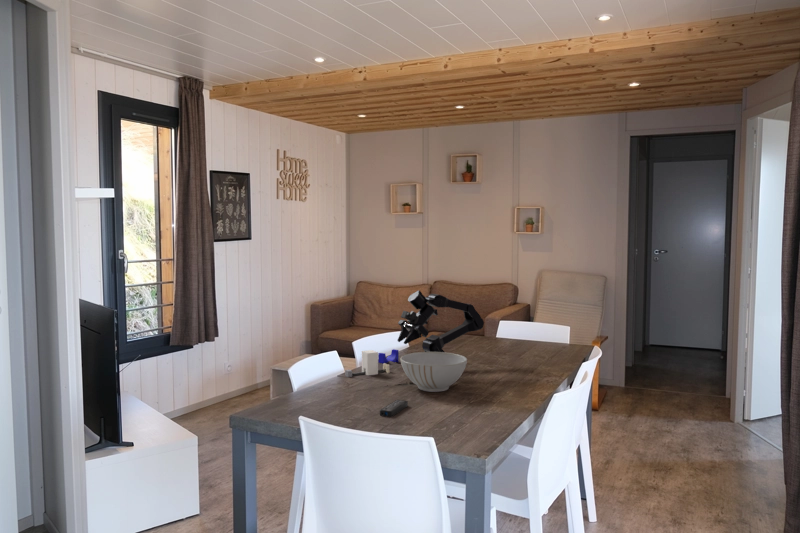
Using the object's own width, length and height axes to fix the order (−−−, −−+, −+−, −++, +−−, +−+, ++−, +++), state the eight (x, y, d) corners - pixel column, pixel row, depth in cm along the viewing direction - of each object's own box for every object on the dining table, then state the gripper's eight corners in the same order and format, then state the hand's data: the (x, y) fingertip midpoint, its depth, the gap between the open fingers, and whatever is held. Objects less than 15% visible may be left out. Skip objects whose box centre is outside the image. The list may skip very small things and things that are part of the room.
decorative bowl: (410, 399, 227) (411, 367, 227) (392, 382, 253) (392, 353, 253) (477, 394, 235) (477, 363, 234) (453, 378, 260) (453, 350, 260)
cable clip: (391, 361, 295) (391, 349, 295) (398, 362, 292) (398, 350, 292) (375, 365, 285) (375, 352, 285) (383, 366, 283) (383, 354, 282)
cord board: (382, 372, 271) (383, 361, 271) (393, 376, 262) (393, 366, 262) (341, 377, 261) (341, 366, 261) (351, 382, 253) (351, 371, 252)
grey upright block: (372, 371, 266) (372, 350, 265) (377, 374, 261) (377, 352, 261) (361, 372, 264) (361, 351, 263) (367, 375, 259) (367, 353, 258)
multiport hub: (408, 407, 218) (408, 400, 218) (391, 418, 205) (391, 411, 205) (396, 405, 220) (396, 399, 220) (379, 416, 207) (379, 409, 207)
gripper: (401, 302, 279) (380, 327, 274) (422, 306, 263) (400, 333, 258) (416, 318, 283) (395, 343, 278) (437, 323, 267) (416, 350, 262)
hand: (401, 342), depth 269 cm, fingers open, 5 cm apart
